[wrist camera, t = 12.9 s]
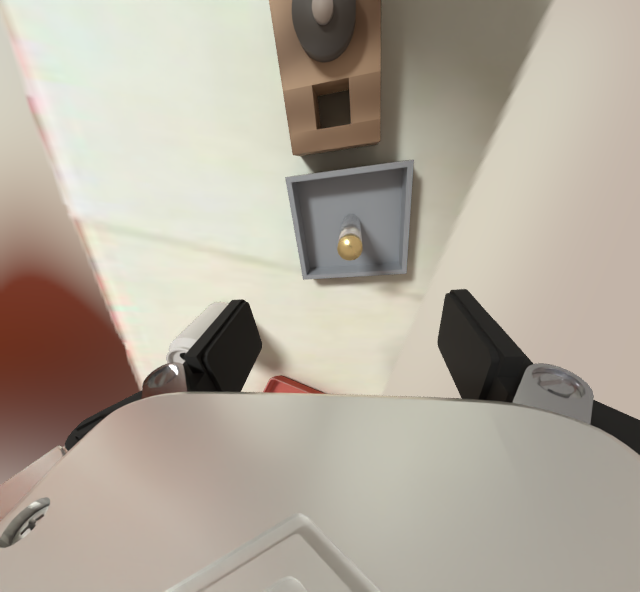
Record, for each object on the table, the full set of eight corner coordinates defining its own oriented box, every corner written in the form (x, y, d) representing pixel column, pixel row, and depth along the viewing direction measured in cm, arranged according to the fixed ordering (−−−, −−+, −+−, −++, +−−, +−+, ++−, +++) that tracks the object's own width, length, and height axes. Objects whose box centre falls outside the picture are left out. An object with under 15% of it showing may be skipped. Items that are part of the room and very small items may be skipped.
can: (250, 307, 40) (214, 357, 30) (245, 337, 44) (211, 391, 33) (209, 293, 40) (158, 338, 29) (207, 325, 43) (161, 375, 33)
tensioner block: (279, 10, 22) (256, -40, 17) (376, -16, 20) (384, -81, 15) (300, 156, 28) (287, 154, 22) (376, 144, 26) (382, 139, 21)
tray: (291, 176, 29) (285, 177, 26) (407, 160, 26) (413, 159, 24) (306, 271, 35) (303, 279, 33) (402, 264, 33) (406, 273, 30)
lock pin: (341, 215, 30) (336, 237, 21) (359, 213, 30) (362, 235, 21) (342, 233, 31) (338, 261, 23) (360, 231, 31) (363, 259, 22)
